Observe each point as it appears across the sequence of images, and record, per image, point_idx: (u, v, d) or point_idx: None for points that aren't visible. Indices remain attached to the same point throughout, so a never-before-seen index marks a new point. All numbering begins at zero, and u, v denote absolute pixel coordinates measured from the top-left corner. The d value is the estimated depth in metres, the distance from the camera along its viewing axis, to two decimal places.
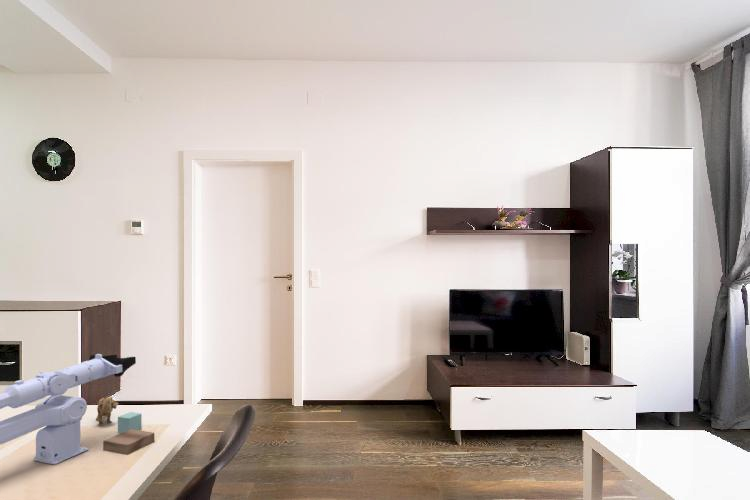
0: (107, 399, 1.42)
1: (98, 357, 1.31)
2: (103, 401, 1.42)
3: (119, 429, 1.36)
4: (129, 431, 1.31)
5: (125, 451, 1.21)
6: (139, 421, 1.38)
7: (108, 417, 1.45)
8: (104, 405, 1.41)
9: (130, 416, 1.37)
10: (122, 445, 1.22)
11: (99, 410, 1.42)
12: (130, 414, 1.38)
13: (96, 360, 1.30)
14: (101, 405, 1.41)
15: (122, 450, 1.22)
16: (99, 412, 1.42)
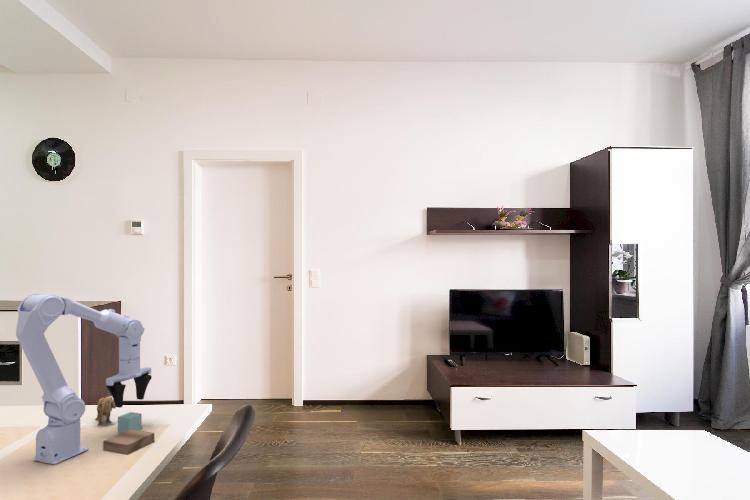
0: (107, 399, 1.42)
1: (136, 373, 1.36)
2: (103, 401, 1.42)
3: (119, 429, 1.36)
4: (129, 431, 1.31)
5: (125, 451, 1.21)
6: (139, 421, 1.38)
7: (108, 417, 1.45)
8: (104, 405, 1.41)
9: (130, 416, 1.37)
10: (122, 445, 1.22)
11: (98, 410, 1.42)
12: (130, 414, 1.38)
13: (133, 370, 1.36)
14: (101, 405, 1.42)
15: (122, 450, 1.22)
16: (99, 412, 1.42)
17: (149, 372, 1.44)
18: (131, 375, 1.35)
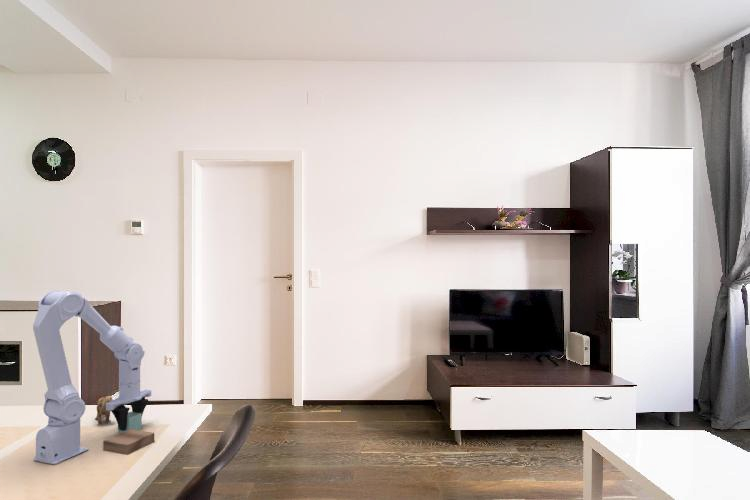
0: (106, 398, 1.42)
1: (136, 397, 1.36)
2: (102, 400, 1.42)
3: None
4: (129, 431, 1.31)
5: (125, 451, 1.21)
6: (139, 421, 1.38)
7: (107, 416, 1.45)
8: (103, 404, 1.42)
9: (130, 415, 1.37)
10: (122, 445, 1.22)
11: (98, 410, 1.42)
12: (131, 414, 1.38)
13: (133, 394, 1.36)
14: (100, 404, 1.42)
15: (122, 450, 1.22)
16: (98, 411, 1.42)
17: (149, 395, 1.43)
18: (131, 399, 1.35)
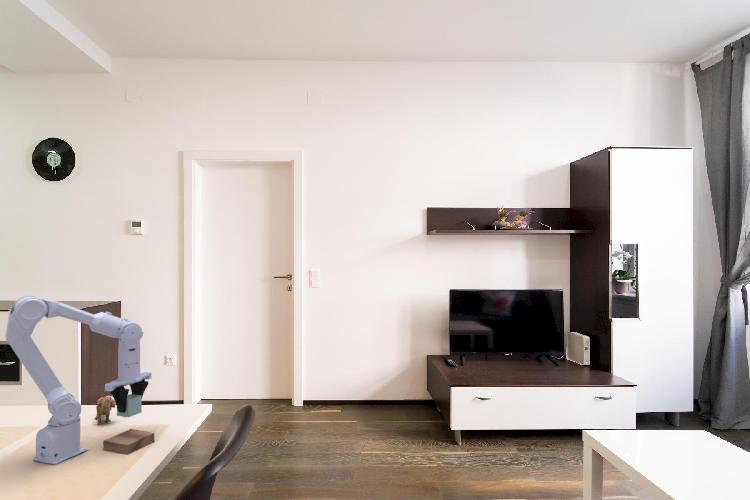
0: (106, 398, 1.43)
1: (136, 379, 1.31)
2: (102, 400, 1.43)
3: None
4: (129, 431, 1.31)
5: (125, 451, 1.21)
6: (139, 403, 1.33)
7: (107, 416, 1.46)
8: (103, 404, 1.42)
9: (130, 397, 1.32)
10: (122, 445, 1.22)
11: (98, 409, 1.43)
12: (130, 396, 1.33)
13: (133, 375, 1.31)
14: (100, 404, 1.42)
15: (122, 450, 1.22)
16: (98, 411, 1.43)
17: (149, 377, 1.39)
18: (131, 380, 1.30)
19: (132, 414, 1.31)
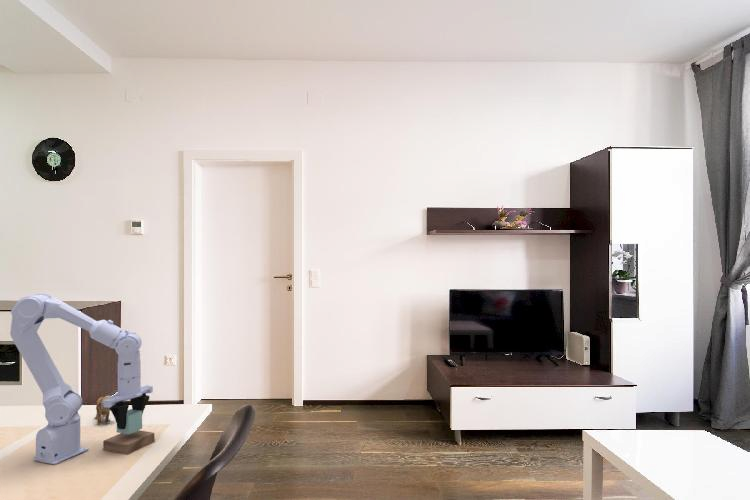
0: (106, 398, 1.43)
1: (136, 393, 1.26)
2: (102, 400, 1.43)
3: None
4: None
5: (125, 451, 1.21)
6: (140, 419, 1.28)
7: (107, 416, 1.46)
8: (103, 404, 1.42)
9: (130, 413, 1.26)
10: (122, 445, 1.22)
11: (97, 409, 1.43)
12: (130, 411, 1.28)
13: (133, 390, 1.25)
14: (100, 404, 1.43)
15: (122, 450, 1.22)
16: (98, 411, 1.43)
17: (150, 391, 1.33)
18: (131, 395, 1.25)
19: (132, 431, 1.25)
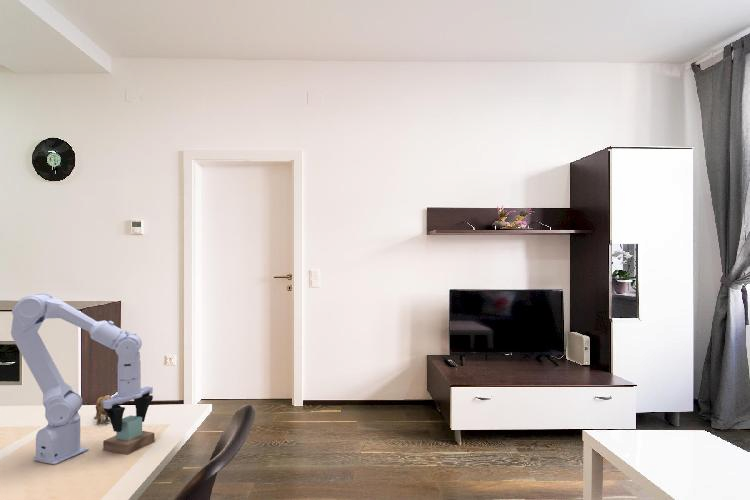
0: (105, 398, 1.43)
1: (136, 395, 1.26)
2: (102, 400, 1.43)
3: (118, 434, 1.25)
4: None
5: (125, 451, 1.21)
6: (140, 425, 1.28)
7: (106, 416, 1.46)
8: (102, 404, 1.42)
9: (130, 419, 1.26)
10: (122, 445, 1.22)
11: (97, 409, 1.43)
12: (130, 418, 1.27)
13: (133, 391, 1.25)
14: (100, 404, 1.43)
15: (122, 450, 1.22)
16: (98, 410, 1.43)
17: (150, 392, 1.33)
18: (131, 396, 1.25)
19: (132, 437, 1.25)
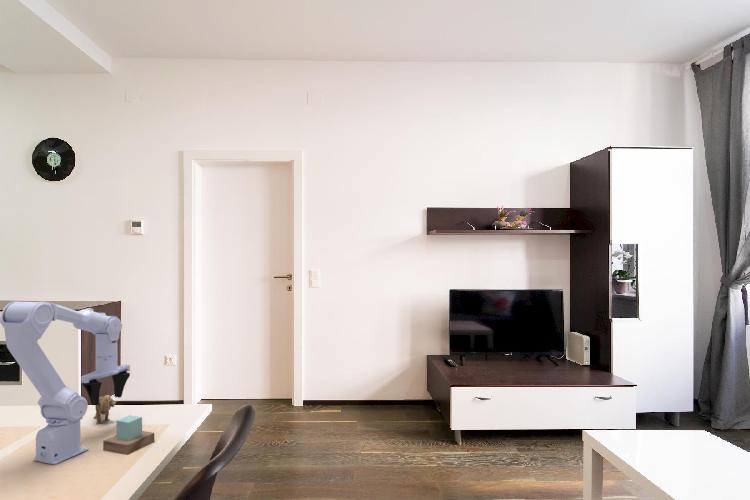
0: (105, 397, 1.43)
1: (113, 371, 1.34)
2: (101, 399, 1.43)
3: (118, 434, 1.25)
4: None
5: (125, 451, 1.21)
6: (140, 425, 1.28)
7: (106, 415, 1.46)
8: (102, 403, 1.43)
9: (130, 419, 1.26)
10: (122, 445, 1.22)
11: (97, 409, 1.43)
12: (130, 418, 1.27)
13: (110, 367, 1.34)
14: (99, 403, 1.43)
15: (122, 450, 1.22)
16: (97, 410, 1.43)
17: (128, 370, 1.42)
18: (107, 372, 1.33)
19: (132, 437, 1.25)
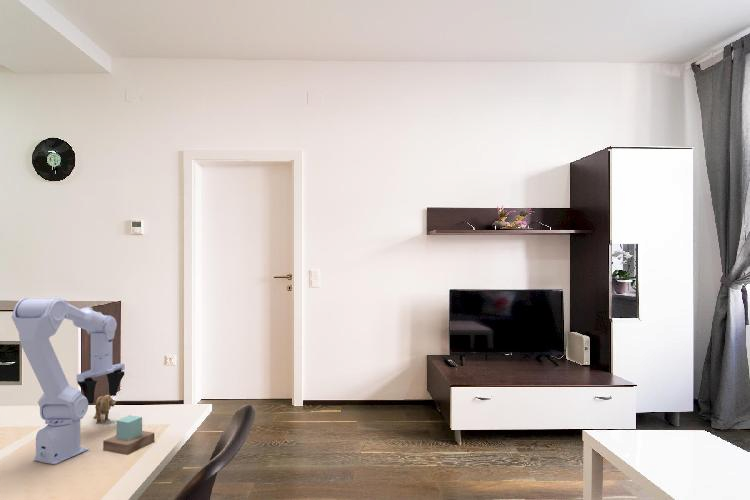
0: (105, 397, 1.44)
1: (108, 370, 1.36)
2: (101, 399, 1.44)
3: (118, 434, 1.25)
4: None
5: (125, 451, 1.21)
6: (140, 425, 1.28)
7: (106, 415, 1.47)
8: (102, 403, 1.43)
9: (130, 419, 1.26)
10: (122, 445, 1.22)
11: (97, 408, 1.44)
12: (130, 418, 1.27)
13: (105, 366, 1.36)
14: (99, 403, 1.43)
15: (122, 450, 1.22)
16: (97, 410, 1.44)
17: (122, 368, 1.43)
18: (103, 371, 1.35)
19: (132, 437, 1.25)
